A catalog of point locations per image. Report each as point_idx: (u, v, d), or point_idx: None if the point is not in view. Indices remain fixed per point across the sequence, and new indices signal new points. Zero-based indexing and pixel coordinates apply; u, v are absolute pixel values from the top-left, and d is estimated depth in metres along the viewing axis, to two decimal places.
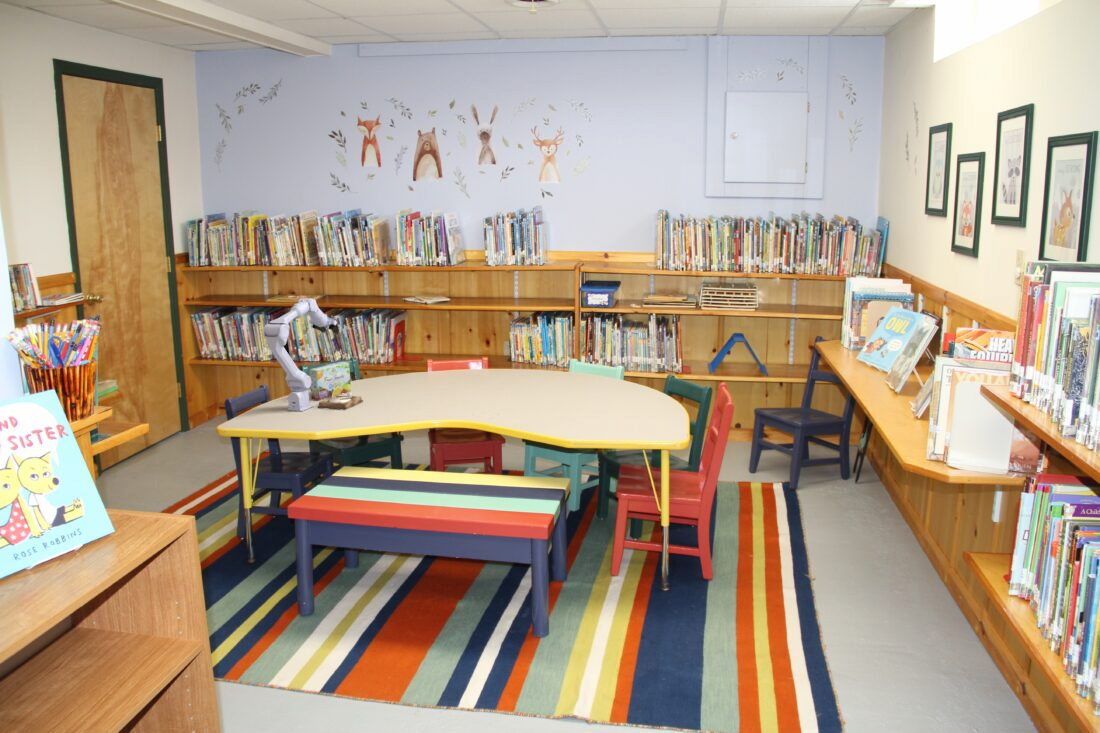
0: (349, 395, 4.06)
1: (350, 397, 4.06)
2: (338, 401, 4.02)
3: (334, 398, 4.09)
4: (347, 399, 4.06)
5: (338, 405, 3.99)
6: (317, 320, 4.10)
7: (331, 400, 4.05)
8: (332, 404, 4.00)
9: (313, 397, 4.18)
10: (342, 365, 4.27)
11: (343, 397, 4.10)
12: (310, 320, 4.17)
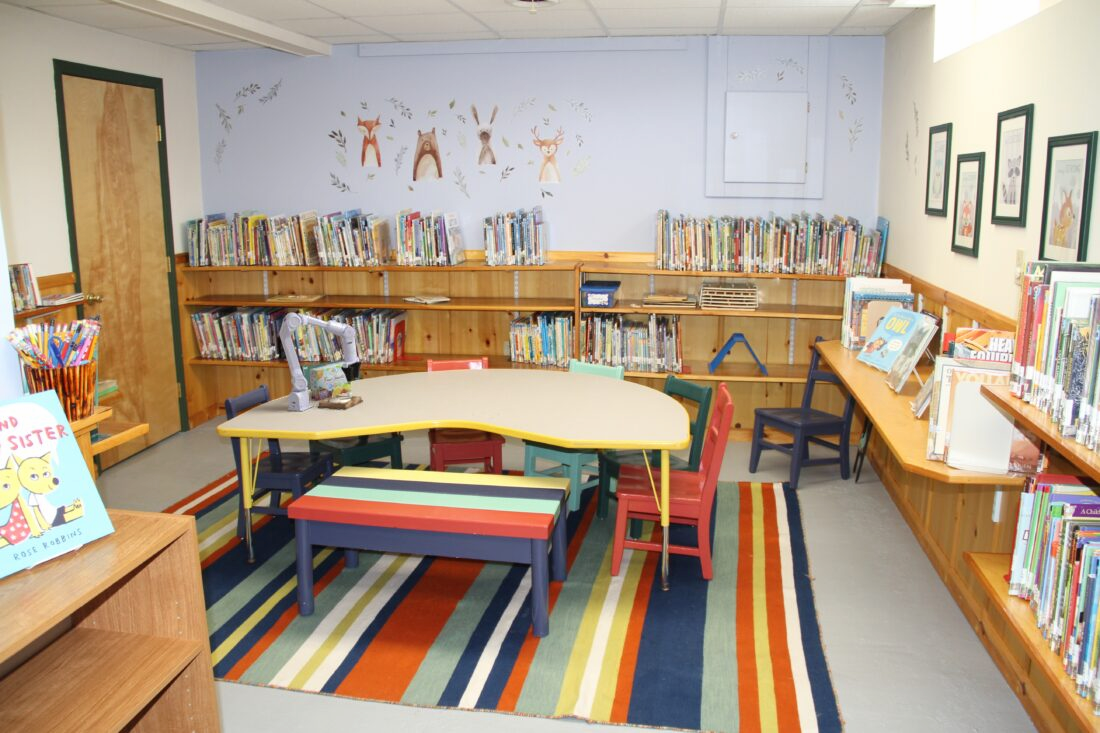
0: (349, 395, 4.06)
1: (350, 397, 4.06)
2: (338, 401, 4.02)
3: (334, 398, 4.09)
4: (347, 399, 4.06)
5: (338, 405, 3.99)
6: None
7: (331, 400, 4.05)
8: (332, 404, 4.00)
9: (313, 397, 4.18)
10: (342, 365, 4.27)
11: (343, 397, 4.10)
12: None
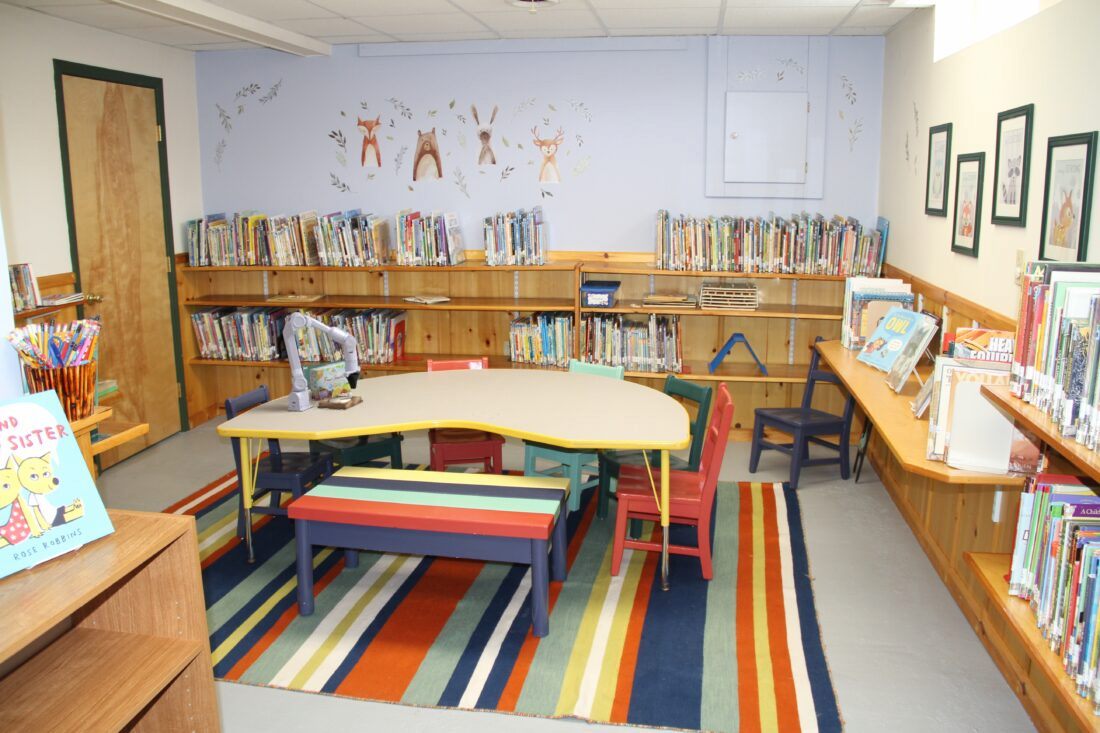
0: (349, 395, 4.06)
1: (350, 397, 4.06)
2: (338, 401, 4.02)
3: (334, 398, 4.09)
4: (347, 399, 4.06)
5: (338, 405, 3.99)
6: None
7: (331, 400, 4.05)
8: (332, 404, 4.00)
9: (313, 397, 4.18)
10: (342, 365, 4.27)
11: (343, 397, 4.10)
12: None
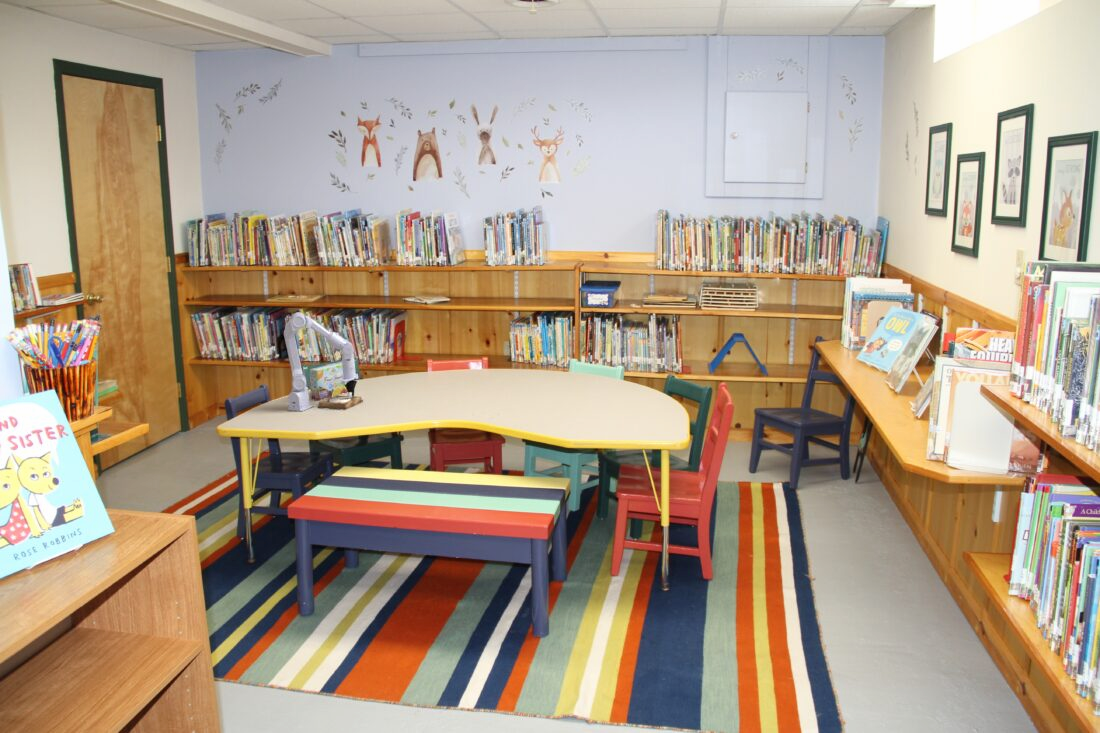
0: (349, 395, 4.06)
1: (350, 397, 4.06)
2: (338, 401, 4.02)
3: (334, 398, 4.09)
4: (347, 399, 4.06)
5: (338, 405, 3.99)
6: None
7: (331, 400, 4.05)
8: (332, 404, 4.00)
9: (313, 397, 4.18)
10: None
11: (343, 397, 4.10)
12: None
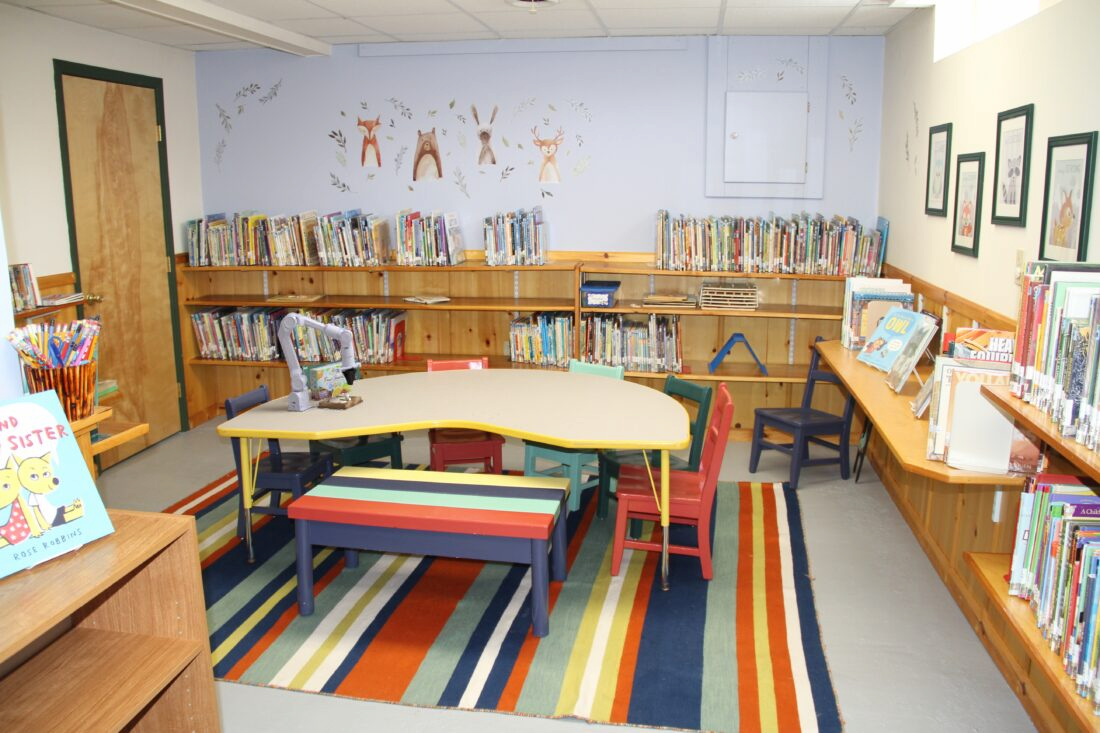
0: (345, 397, 4.03)
1: (345, 399, 4.03)
2: (333, 401, 4.03)
3: (340, 397, 4.10)
4: (343, 400, 4.03)
5: (338, 405, 3.99)
6: None
7: (333, 398, 4.08)
8: (332, 404, 4.00)
9: (313, 397, 4.18)
10: None
11: None
12: (358, 362, 4.08)
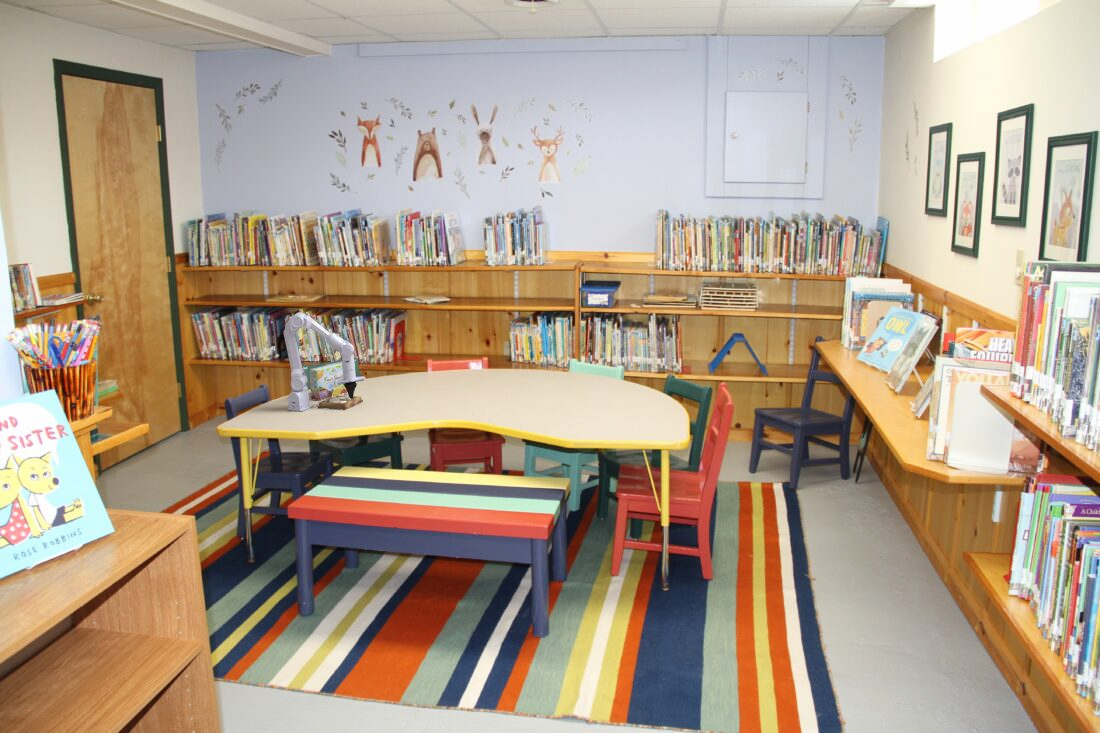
0: (345, 397, 4.03)
1: (345, 399, 4.03)
2: (333, 401, 4.03)
3: (340, 397, 4.10)
4: (343, 400, 4.03)
5: (338, 405, 3.99)
6: None
7: (333, 398, 4.08)
8: (332, 404, 4.00)
9: (313, 397, 4.18)
10: None
11: None
12: (362, 376, 4.06)
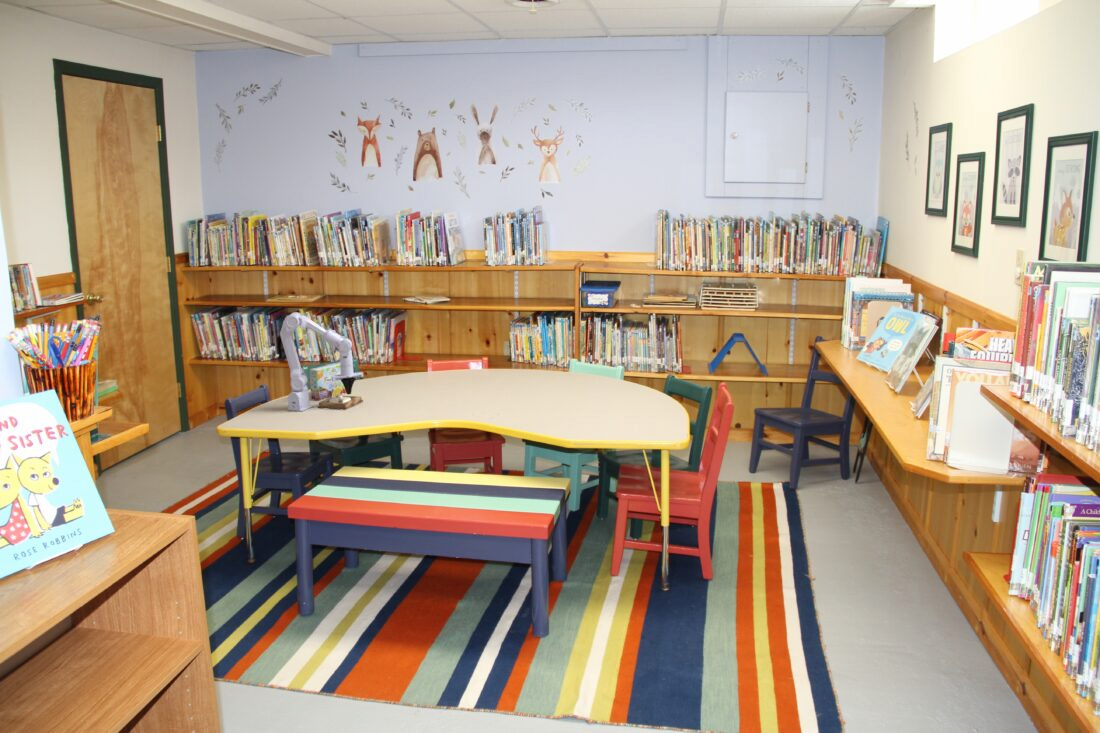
0: (338, 398, 4.01)
1: (338, 400, 4.01)
2: (331, 400, 4.06)
3: (346, 397, 4.10)
4: (338, 401, 4.03)
5: (338, 405, 3.99)
6: None
7: (338, 397, 4.10)
8: (332, 404, 4.00)
9: (313, 397, 4.18)
10: None
11: (348, 399, 4.06)
12: (360, 372, 4.06)
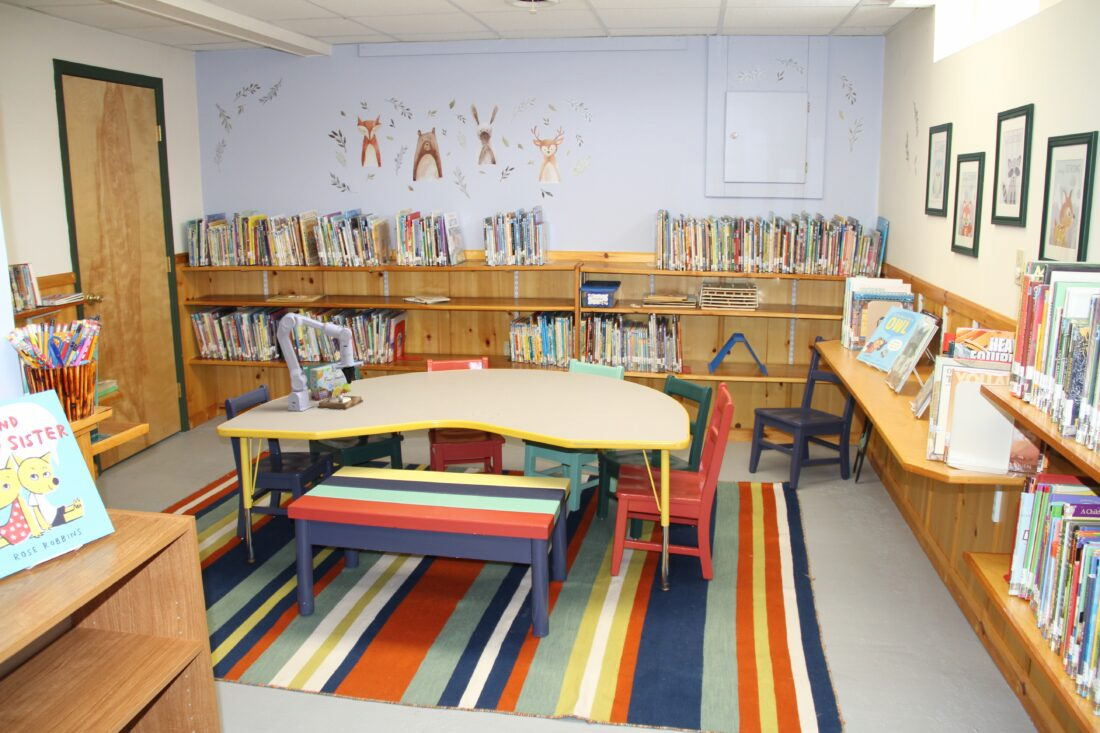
0: (338, 398, 4.01)
1: (338, 400, 4.01)
2: (331, 400, 4.06)
3: (346, 397, 4.10)
4: (338, 401, 4.03)
5: (338, 405, 3.99)
6: None
7: (338, 397, 4.10)
8: (332, 404, 4.00)
9: (313, 397, 4.18)
10: None
11: (348, 399, 4.06)
12: (360, 361, 4.05)
